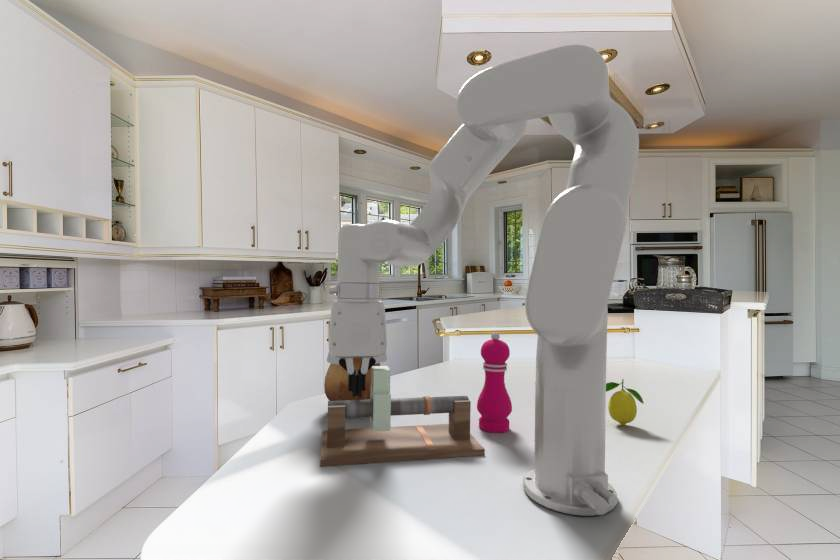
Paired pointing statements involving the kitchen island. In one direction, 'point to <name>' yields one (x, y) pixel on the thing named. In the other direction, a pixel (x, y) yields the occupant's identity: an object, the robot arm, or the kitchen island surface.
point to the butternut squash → (345, 382)
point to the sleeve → (380, 398)
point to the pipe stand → (398, 432)
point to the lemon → (622, 403)
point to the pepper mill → (494, 387)
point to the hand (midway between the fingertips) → (356, 394)
